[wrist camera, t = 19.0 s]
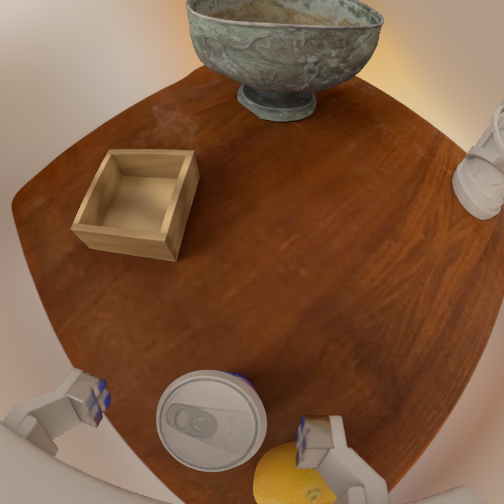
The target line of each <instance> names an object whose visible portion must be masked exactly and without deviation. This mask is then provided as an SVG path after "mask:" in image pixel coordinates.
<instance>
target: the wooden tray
mask: <svg viewBox="0 0 504 504" xmlns="http://www.w3.org/2000/svg"><path fill="white" fill-rule="evenodd" d="M199 179H200V175H199V170H198V165H197V160H196V155H195V151H191V150H162V149H117V150H109V151H108V153H107V155H106V157H105V158H104V160H103V162H102V164H101V166H100V168H99V169H98V171H97V173H96V175H95V177H94V179H93V181H92V183H91V185H90V187H89V189H88V191H87V193H86V196H85V198H84V200H83V202H82V204H81V206H80V209H79V211H78V213H77V216H76V218H75V220H74V223H73V225H72V227H71V230H72V231H73V232H74V233H75V234H76V235H77V236H78V237H79V238H80V239H81V240H82V241H83V242H84V243H85V244H86V245H87V246H88V247H89V248H90V249H96V250H103V251H109V252H115V253H122V254H128V255H135V256H141V257H148V258H155V259H161V260H168V261H175V262H176V261H177V257H178V253H179V249H180V245H181V241H182V238H183V234H184V230H185V227H186V223H187V219H188V216H189V212H190V209H191V205H192V202H193V198H194V195H195V192H196V188H197V185H198V182H199Z"/></svg>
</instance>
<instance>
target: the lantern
mask: <svg viewBox="0 0 504 504" xmlns="http://www.w3.org/2000/svg"><path fill="white" fill-rule="evenodd" d="M502 112H504V100H503V101H502V103H501V104H500V106H499V108H498V109H497V110H496V111H495V113H494V115H493V118H492V119H491V122H490V125H489V126H488V128H487V129H486V131H485V132H484V134H483V135H482V137H481V138H480V140H479V141H478V142H477V144H476V146H472V148H471V149H470V150H469V151H468V153H467V154H466V156H465V158H464V160H463V161H462V162H461V163H460V164H459V165H458V167H457V169H456V171H455V173H454V175H453V179H452V185H453V189H454V192H455V194H456V196H457V198H458V200H459V201H460V203H461V204H462V205H463V206H464V208H465V209H466V210H467V211H468V212H469V213H470V214H471V215H473V216H474V217H476V218H478V219H480V220H487V219H490V218H492V217H493V216H495V215H496V214H498V213H499V212H500V210H501V205H502V204H503V203H504V115H503V116H502V118H501V119H500V121H499V122H498V115H499V114H500V113H502Z"/></svg>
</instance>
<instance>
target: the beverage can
mask: <svg viewBox="0 0 504 504" xmlns="http://www.w3.org/2000/svg"><path fill="white" fill-rule="evenodd" d="M156 421H157V430H158V434H159V437H160V439H161V441H162V443H163V445H164V447H165V448H166V449H167V451H168V452H169V453H170V454H171V455H172V456H173V457H174V458H175V459H176V460H178V461H179V462H181V463H182V464H184V465H186V466H188V467H190V468H193V469H196V470H200V471H206V472H218V471H224V470H228V469H231V468H234V467H236V466H239V465H241V464H243V463H244V462H246V461H248V460H249V459H250V458H251V457H252V456H253V455H254V454H255V453H256V452H257V451H258V450H259V448H260V446H261V445H262V443H263V440H264V438H265V435H266V429H267V417H266V412H265V409H264V406H263V403H262V401H261V399H260V397H259V395H258V394H257V392H256V390H255V388H254V386H253V384H252V383H251V382H250V381H249V380H248V379H247V378H245V377H244V376H242V375H240V374H237V373H231V372H224V371H217V370H200V371H195V372H191V373H188V374H186V375H183V376H181V377H180V378H178V379H176V380H175V381H174V382H173V383H171V384H170V385H169V386H168V388H167V389H166V390H165V391H164V393H163V395H162V396H161V398H160V401H159V404H158V408H157V416H156Z"/></svg>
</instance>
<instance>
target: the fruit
mask: <svg viewBox="0 0 504 504" xmlns="http://www.w3.org/2000/svg"><path fill="white" fill-rule="evenodd" d="M297 451H298V449H297V448H296V447H295V441H293V442H288V443H284V444H281V445H278V446H276V447H274V448H272V449H270V450H269V451H268V452H267V453H265V454H264V455H263V457H262V458H261V459H260V461H259V463H258V465H257V467H256V471H255V475H254V483H253V493H254V497H255V500H256V502H257V504H332V503H333V502H334V501H335V500H337V499H338V498H337V497H336V495H335V494H334V493H333V492H332V490H331V489H330V488H329V486H328V485H327V484H326V482H325V481H324V480H323V478H322V477H321V476H320V474H319V473H318V471H317V470H316V469H299V468H296V456H295V455H296V453H297Z"/></svg>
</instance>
